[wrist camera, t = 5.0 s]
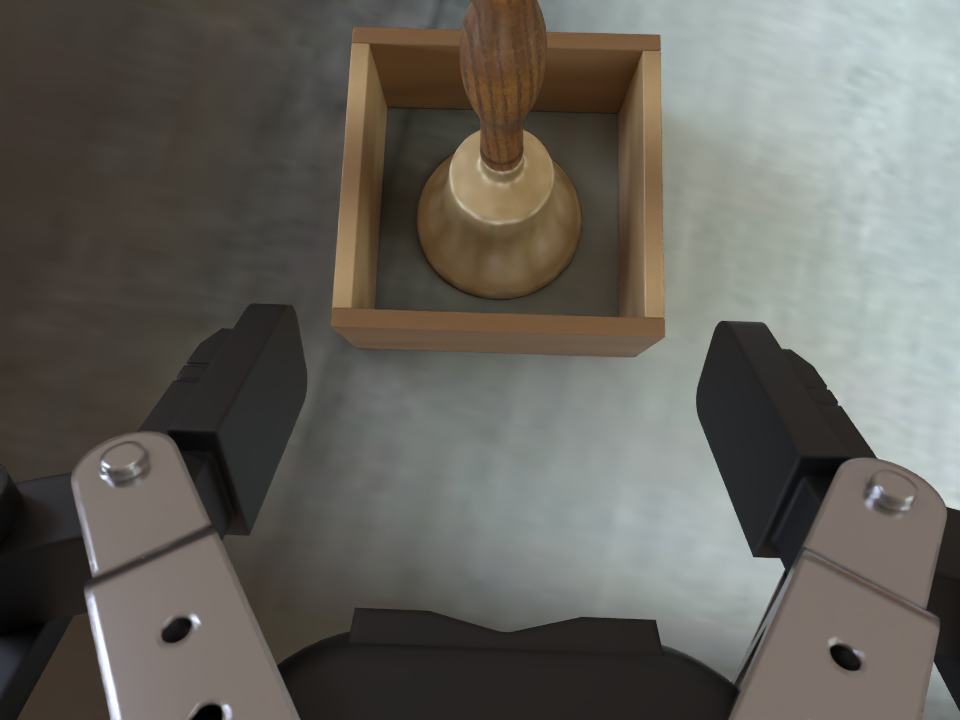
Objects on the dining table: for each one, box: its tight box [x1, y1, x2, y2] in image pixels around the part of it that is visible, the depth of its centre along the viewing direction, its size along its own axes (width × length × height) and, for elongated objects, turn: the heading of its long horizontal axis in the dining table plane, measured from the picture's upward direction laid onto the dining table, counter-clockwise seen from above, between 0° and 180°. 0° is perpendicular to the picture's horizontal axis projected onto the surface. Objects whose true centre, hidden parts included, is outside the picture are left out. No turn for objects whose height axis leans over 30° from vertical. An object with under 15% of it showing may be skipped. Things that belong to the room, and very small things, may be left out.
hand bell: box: [417, 0, 582, 299], centre depth 23 cm, size 8×8×16 cm
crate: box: [331, 27, 665, 357], centre depth 28 cm, size 14×14×5 cm
